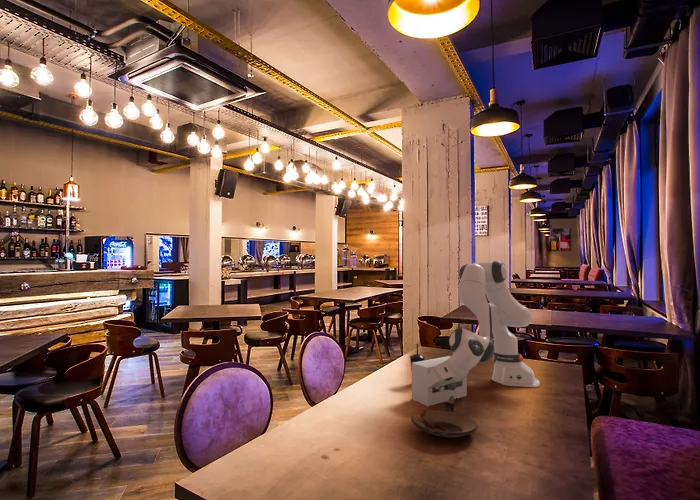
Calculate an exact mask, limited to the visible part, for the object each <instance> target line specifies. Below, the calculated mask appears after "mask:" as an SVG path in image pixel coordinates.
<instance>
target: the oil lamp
mask: <svg viewBox="0 0 700 500" xmlns="http://www.w3.org/2000/svg"><path fill="white" fill-rule="evenodd" d="M454 409H455V399H454V397H453V396H450V398H449V400H448V401H446V402H444V409H442V410H441V409H440V410H438V409H425V410H423V411H422V412H421V413H419V415H420V417H421V419H423V421H424V422H425V423H426V424H427V425H426V424H424V423H423V422H421V421H420V420H418V419H417V418H416V417H414V416H413V415H412V416H411V418H410V419H411V421H412V422H411V423H413V425H415V426H416V427H417V428H418V429H420V430H421V431H422V432H425V433H427V434H430V435H432V436H437V437H441V438H447V439H448V438H449V439H450V438H459V437H464V436H468V435H470V434H473V433H474V432H476V431H477V430H478V423H477V422H476V420H474V419H472V418H471V417H469V416H467V415H464V414H462V413H459V412H455V410H454ZM436 427H438V428H439V429H441V430H437V429H435V428H436ZM442 430H443V431H442Z"/></svg>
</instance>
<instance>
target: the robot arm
mask: <svg viewBox="0 0 700 500" xmlns="http://www.w3.org/2000/svg"><path fill="white" fill-rule="evenodd" d="M458 274H459V275H458V276H459V285H458V297H459V300H460V301H461V302H462V304H463V305H464V306H465V307H467V308H468V309H469V310H470V311H471V312H472V313H473V314H474V315H475V316H476V319H477V320H478V334H477V333H475V332H473V331H471V330H468V329H466V328H463V327H456V328H455V329H454V330H453V331H452V332H450V334H449V338H448V345H449V347H450V351H451V353H452V355H450V356H451V357H450V358H449V359H447V360H446V361H444V362H443V363H440V364H438V365H436V366H435V367H434V368H435V370H433V371H432V372H431V373H430V374H429V375H428V376H427V378H426V379H425V383H426V385H427V386H428V388H434V387H435V388H436V389H439V388H442V387H443V386H445V385H447V384H451V383H455V382H459V381H462V380H463V379H464V378H465V377H466V376H468V375H469V372H470V370H471V369H473V368H475V367H476V366H477V364H478V363H479V362H480V363H484V362H488V361H490V360H491V359H493V364H494V365H493V372H492V376H491V380H492V381H493V382H496V383H498V384H500V385H503V386H506V387H507V386H510V387H526V388H539V387H540V385H541V382H540V380H539V379H538V378H536V376H535V373H534V371H533V369H532V368H531V367H530V366H529V365H527V364H526V363H525V362H523V360H524V357H523V356H522V354H521V353H519V352H518V351H519V349H518V347H519V345H518V338H517V336H515V334H514V333H512V332H511V331H510V330H509V329H508V327H513V328H525V327H528V326H529V325H530V323H531V322H532V319H533V315H532V312H531V310H530V309H529V308H528V307H526V306H524V305H523V304H522V303H520V302H518V300H517V299H516V298H515V297H514V296H513V295H512V294H511V291H510V288H509V286H508V284H507V282H506V279H507V277H508V270H507V266H506V264H505V263H504V262H502V261H501V260H493V261H491V260H490V261H486V260H485V261H480V262H474V263H467V264H463V265H462V266H461V267H460V268H459V271H458Z"/></svg>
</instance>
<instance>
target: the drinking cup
mask: <svg viewBox="0 0 700 500" xmlns="http://www.w3.org/2000/svg"><path fill="white" fill-rule="evenodd" d="M409 358H410V367H411V368H410V370H411V372H412V363H413V362H419V361H424V360H425V359H426V356H425V355H423V354H421V353H420V354H419V343H416V353H413V354H412V355H409Z"/></svg>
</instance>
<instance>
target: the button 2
mask: <svg viewBox="0 0 700 500" xmlns="http://www.w3.org/2000/svg"><path fill="white" fill-rule="evenodd" d="M445 388H446V389H449V390H452V391H453V390H455V388H456V382H455V383H451V384H447V385H445Z"/></svg>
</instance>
